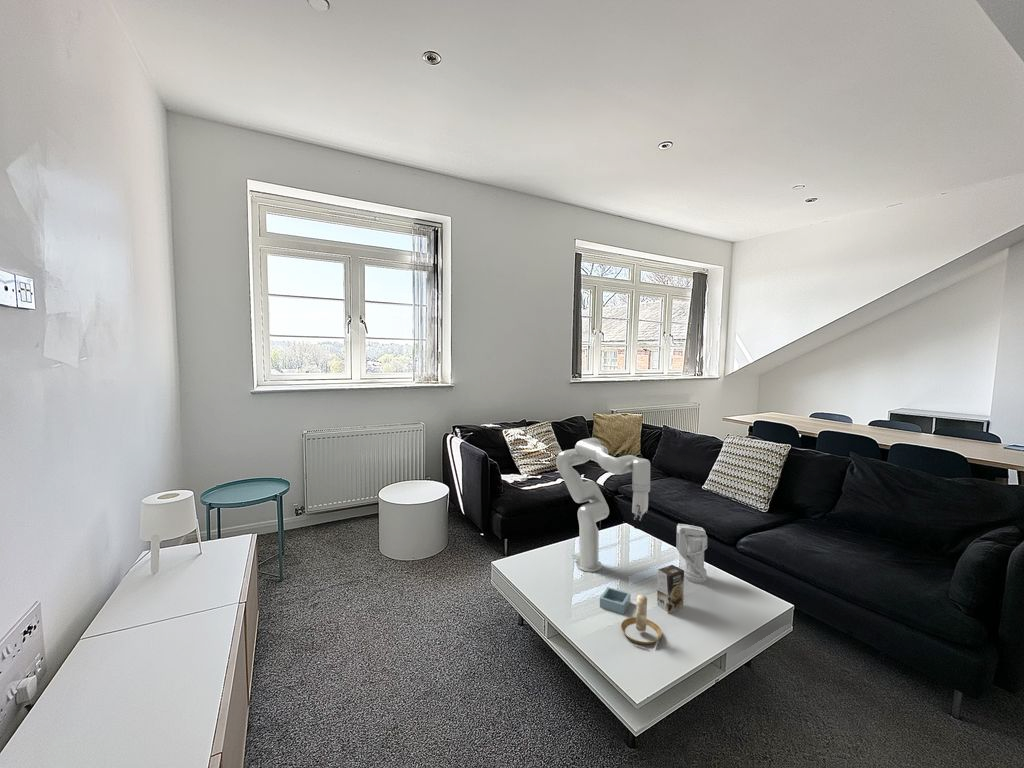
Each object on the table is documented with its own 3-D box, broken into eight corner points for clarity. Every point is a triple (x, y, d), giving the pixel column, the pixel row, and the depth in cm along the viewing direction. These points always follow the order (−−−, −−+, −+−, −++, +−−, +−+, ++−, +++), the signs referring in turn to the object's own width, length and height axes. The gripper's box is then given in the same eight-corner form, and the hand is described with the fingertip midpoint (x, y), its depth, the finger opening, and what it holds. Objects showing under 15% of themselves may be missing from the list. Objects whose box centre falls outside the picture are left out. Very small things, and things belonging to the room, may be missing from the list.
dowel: (634, 629, 156) (635, 598, 156) (637, 624, 159) (638, 593, 159) (644, 632, 154) (645, 601, 154) (647, 628, 157) (648, 596, 157)
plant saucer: (634, 618, 167) (634, 612, 167) (669, 636, 156) (669, 629, 156) (613, 634, 157) (613, 627, 157) (648, 655, 146) (648, 647, 146)
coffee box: (668, 614, 169) (669, 575, 168) (656, 606, 175) (656, 568, 174) (684, 608, 173) (684, 570, 172) (671, 600, 179) (672, 563, 178)
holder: (599, 608, 173) (599, 598, 173) (607, 596, 182) (607, 586, 182) (623, 616, 168) (623, 605, 168) (630, 603, 177) (630, 593, 176)
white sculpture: (702, 572, 202) (703, 522, 200) (709, 584, 191) (710, 531, 190) (674, 571, 203) (675, 521, 202) (680, 582, 193) (681, 530, 192)
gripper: (637, 480, 193) (637, 517, 194) (627, 490, 178) (626, 529, 179) (654, 483, 189) (653, 520, 190) (644, 493, 175) (644, 533, 175)
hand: (640, 524), depth 185 cm, fingers open, 9 cm apart
